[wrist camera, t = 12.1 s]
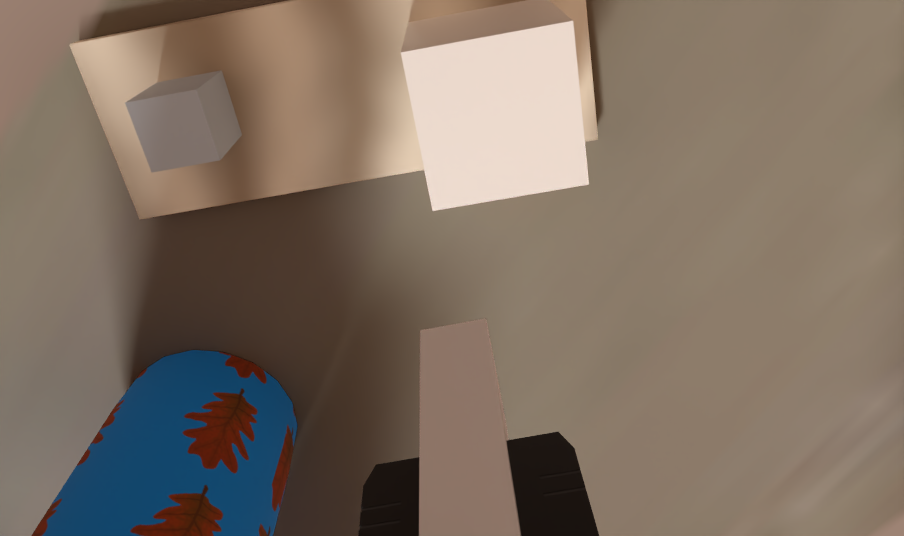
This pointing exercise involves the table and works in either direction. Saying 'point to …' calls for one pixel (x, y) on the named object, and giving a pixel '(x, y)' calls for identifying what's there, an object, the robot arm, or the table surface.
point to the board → (284, 95)
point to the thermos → (184, 455)
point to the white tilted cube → (496, 102)
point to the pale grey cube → (185, 121)
